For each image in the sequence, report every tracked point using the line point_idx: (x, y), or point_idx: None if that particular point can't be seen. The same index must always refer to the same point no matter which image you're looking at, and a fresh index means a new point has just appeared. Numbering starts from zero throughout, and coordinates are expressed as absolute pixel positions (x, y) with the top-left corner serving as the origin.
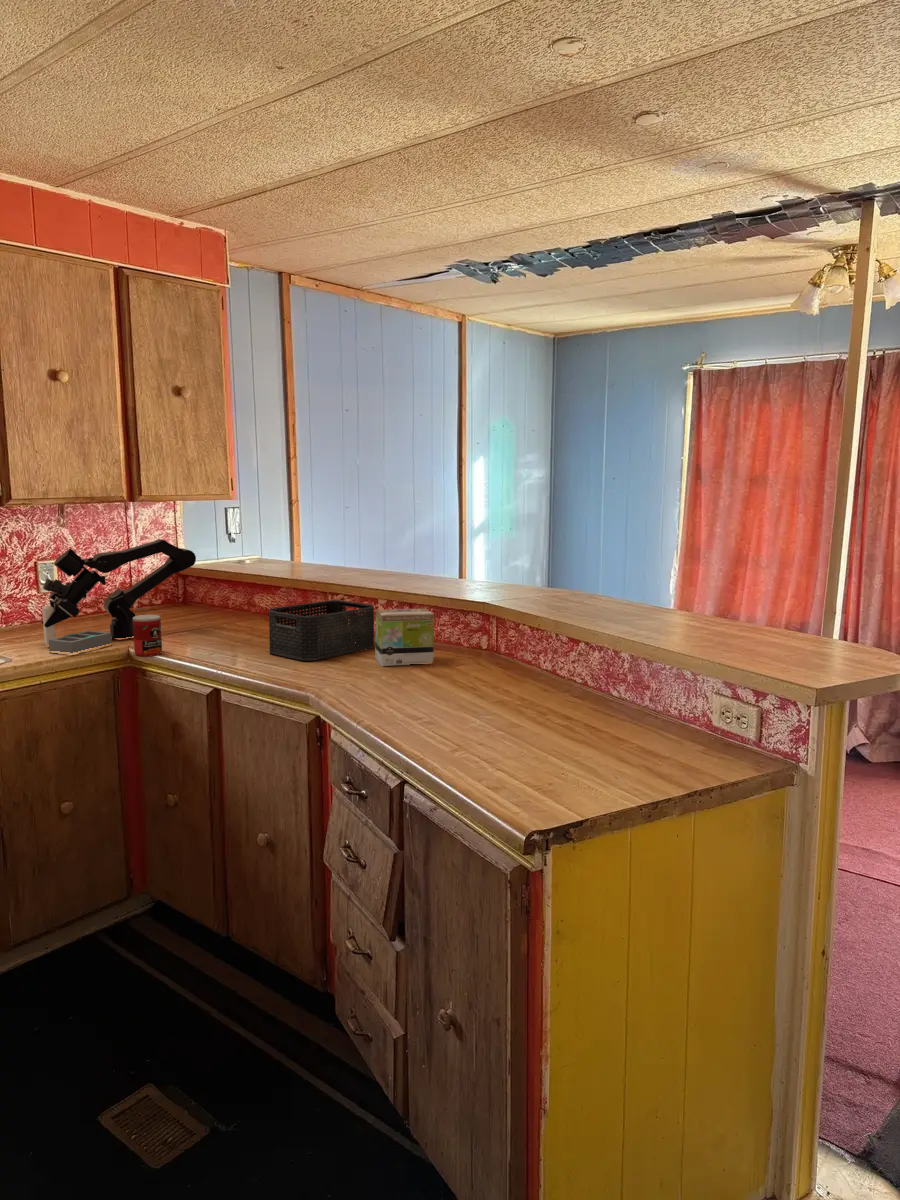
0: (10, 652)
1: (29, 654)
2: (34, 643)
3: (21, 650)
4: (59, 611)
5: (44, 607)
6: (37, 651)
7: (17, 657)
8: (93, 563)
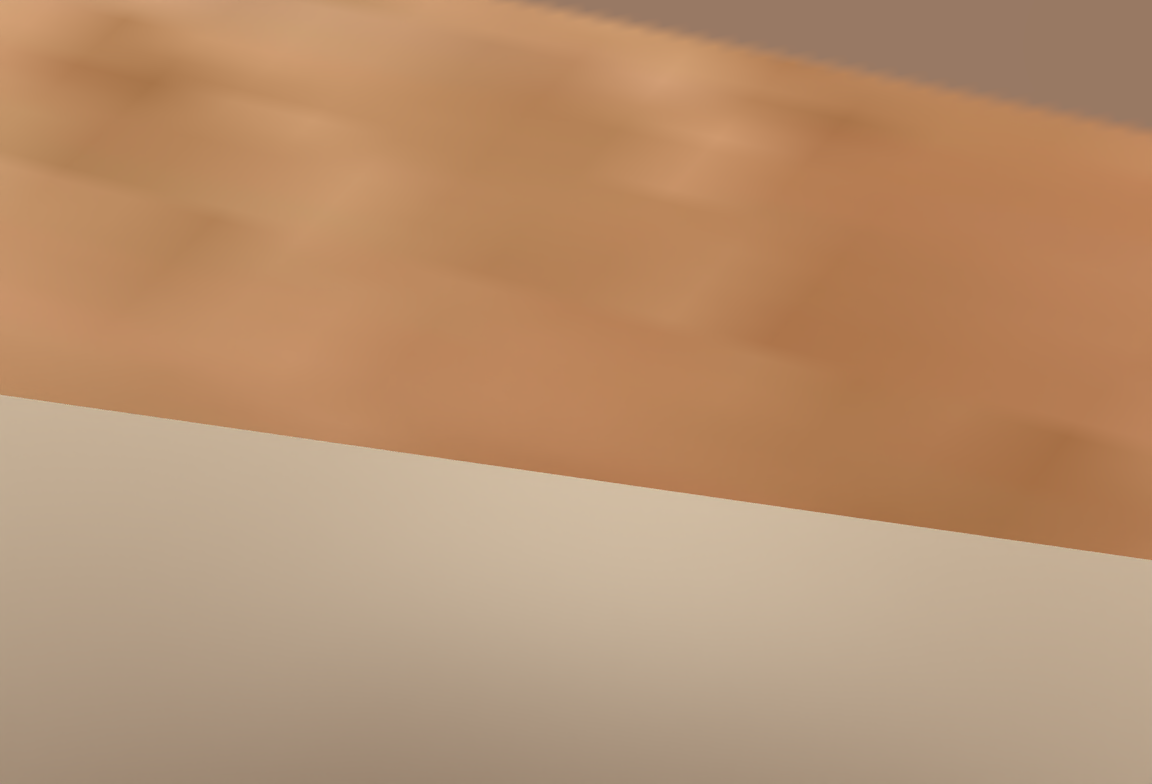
0: (514, 14)
1: (121, 204)
2: (1109, 552)
3: (560, 186)
4: None
5: (620, 590)
6: (270, 377)
7: (40, 8)
8: None
